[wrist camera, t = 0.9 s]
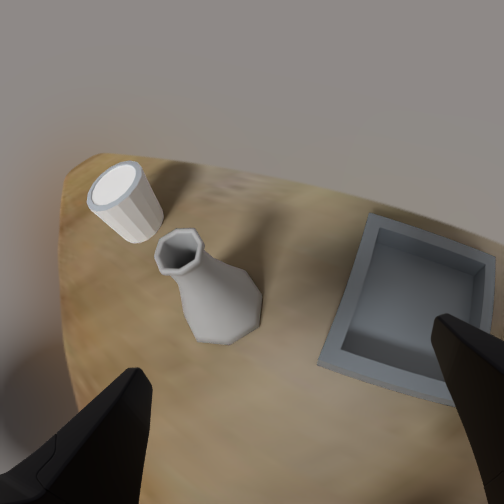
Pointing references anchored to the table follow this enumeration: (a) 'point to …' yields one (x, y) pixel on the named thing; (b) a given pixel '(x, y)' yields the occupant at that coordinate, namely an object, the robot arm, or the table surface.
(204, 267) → the light grey vase
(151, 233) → the white cup
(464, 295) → the tray
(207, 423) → the table surface
